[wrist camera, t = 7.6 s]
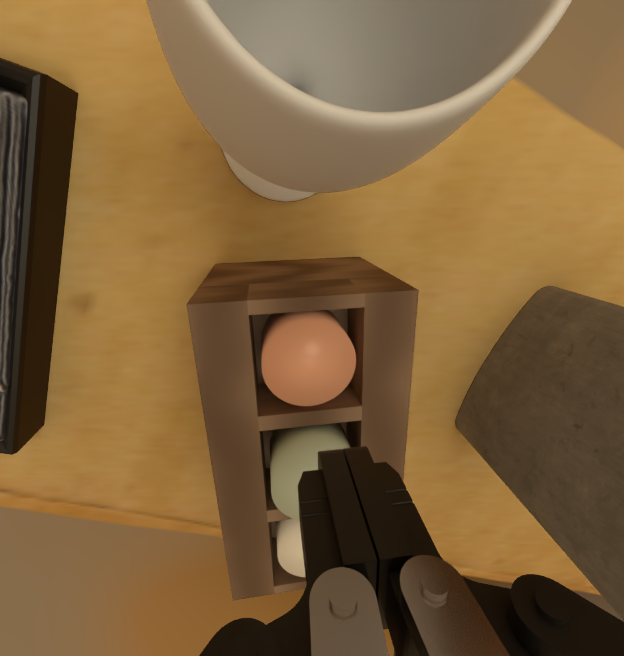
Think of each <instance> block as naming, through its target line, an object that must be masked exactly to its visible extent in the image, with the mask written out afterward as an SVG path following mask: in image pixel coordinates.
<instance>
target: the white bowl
mask: <svg viewBox="0 0 624 656" xmlns="http://www.w3.org/2000/svg"><path fill="white" fill-rule="evenodd" d="M571 1H572V0H147V4H148V7H149V11H150V14H151V17H152V20H153V23H154V27H155V30H156V33H157V36H158V39H159V42H160V44H161V47H162V50H163V52H164V55H165V57H166V60H167V62H168V64H169V67H170V69H171V72H172V74H173V76H174V78H175V80H176V82H177V84H178V86H179V88H180V90H181V92H182V94H183V95H184V97H185V99H186V101H187V102H188V104H189V106H190V108H191V109H192V111H193V112H194V114H195V115H196V117H197V118H198V120H199V121H200V123H201V124H202V125H203V127H204V128H205V129H206V131H207V132H208V133H209V134H210V136H211V137H212V138H213V139H214V140H215V141H216V143H217V144H218V145H219V146H220V147H221V148H222V150H223V153H224V156H225V158H226V161H227V163H228V165H229V166H230V168H231V170H232V171H233V173H234V174H235V175H236V176H237V178H238V179H239V180H240V181H241V182H242V183H243V184H244V185H245V186H246V187H247V188H249V189H250V190H252V191H253V192H255V193H256V194H258V195H260V196H262V197H265V198H267V199H271V200H275V201H282V202H291V201H298V200H302V199H305V198H308V197H310V196H312V195H314V194H316V193H329V192H338V191H345V190H350V189H354V188H358V187H362V186H365V185H368V184H371V183H374V182H376V181H379V180H381V179H383V178H386V177H388V176H390V175H392V174H394V173H396V172H398V171H400V170H401V169H403V168H405V167H406V166H408V165H410V164H411V163H413V162H414V161H416V160H418V159H419V158H421V157H422V156H424V155H425V154H426V153H428V152H429V151H431V150H432V149H433V148H435V147H436V146H437V145H439V144H440V143H441V142H442V141H444V140H445V139H446V138H447V137H449V136H450V135H451V134H452V133H454V132H455V131H456V130H457V129H458V128H459V127H461V126H462V125H463V124H464V123H465V122H467V121H468V120H469V119H470V118H471V117H472V116H473V115H474V114H475V113H477V112H478V111H479V110H480V109H481V108H482V107H483V106H484V105H485V104H486V103H487V102H488V101H489V100H490V99H492V98H493V97H494V96H495V95H496V94H497V93H498V92H499V91H500V90H501V89H502V88H503V87H504V86H505V85H506V84H507V83H508V82H509V81H510V80H511V79H512V78H513V77H514V76H515V75H516V74H517V73H518V72H519V71H520V70H521V69H522V68H523V67H524V65H525V64H526V63H527V62H528V61H529V60H530V59H531V57H532V56H533V55H534V54H535V52H536V51H537V50H538V49H539V48H540V46H541V45H542V44H543V43H544V41H545V40H546V39H547V37H548V36H549V35H550V33H551V32H552V31H553V29H554V28H555V26H556V25H557V24H558V22H559V20H560V19H561V18H562V16H563V14H564V13H565V11H566V9H567V8H568V6H569V4H570V3H571Z"/></svg>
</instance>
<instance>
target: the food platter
mask: <svg viewBox="0 0 624 656" xmlns="http://www.w3.org/2000/svg"><path fill="white" fill-rule="evenodd" d="M77 100H78V93H77V92H75V91H73V90H72V89H70V88H68V87H67V86H65V85H63V84H62V83H60V82H58V81H56V80H55V79H53V78H51V77H50V76H48V75H46V74H43V73H40V72H38V71H35V70H32V69H29V68H27V67H24V66H21V65H19V64H16V63H13V62H10V61H8V60H5V59H2V58H0V453H4V454H11V455H12V454H15V453H17V452H18V451H19V450H20V449H21V448H22V447H23V446H24V445H25V444H26V443H27V442H28V441H29V440H30V439H31V438H32V437H33V436H34V434H35V433H36V432H37V431H38V430H39V429H40V428H41V427H42V426H43V425H44V420H45V411H46V401H47V391H48V382H49V372H50V362H51V352H52V343H53V333H54V323H55V314H56V304H57V294H58V285H59V275H60V265H61V255H62V246H63V236H64V226H65V217H66V207H67V197H68V188H69V178H70V168H71V158H72V149H73V139H74V129H75V120H76V110H77Z"/></svg>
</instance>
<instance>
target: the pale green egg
mask: <svg viewBox="0 0 624 656" xmlns="http://www.w3.org/2000/svg"><path fill="white" fill-rule="evenodd" d="M344 448H350V445H349V442H348V440H347V437H346V434H345V431H344V429H343V427H342V425H341V424H340V423H331V424H322V425H313V426H303V427H294V428H284V429H275V430H274V432H273V434H272V436H271V439H270V474H271V495H272V499H273V502H274V504H275V505H276V507H277V508H278V509H279V510H280V511H281V512H282V513H283V514H285V515H286V516H288V517H290V518H293V519H296V520H300V519H299V501H298V484H299V481H300V478H301V476H302V473H303V471H311V470H318V451H327V450H336V449H344Z"/></svg>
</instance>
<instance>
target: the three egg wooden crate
mask: <svg viewBox="0 0 624 656" xmlns="http://www.w3.org/2000/svg"><path fill="white" fill-rule="evenodd" d="M417 302H418V289H416V288H414V287H412V286H410V285H409V284H407V283H405V282H403V281H401V280H400V279H398V278H396V277H394V276H393V275H391V274H389V273H387V272H385V271H384V270H382V269H380V268H378V267H377V266H375V265H373V264H371V263H369V262H368V261H366V260H364V259H362V258H361V257H345V258H325V259H304V260H284V261H264V262H243V263H223V264H215V265H214V267H213V268H212V270H211V271H210V272H209V274H208V275H207V277H206V278H205V279H204V281H203V282H202V284H201V285H200V286H199V288H198V289H197V291H196V292H195V293H194V295H193V296H192V298H191V299H190V300H189V302H188V303H187V310H188V317H189V323H190V329H191V336H192V342H193V349H194V355H195V361H196V368H197V374H198V381H199V387H200V393H201V400H202V406H203V412H204V419H205V425H206V432H207V438H208V444H209V451H210V457H211V464H212V470H213V476H214V483H215V489H216V495H217V502H218V508H219V515H220V521H221V527H222V534H223V540H224V546H225V553H226V559H227V566H228V572H229V578H230V584H231V591H232V598H233V600H239V599H245V598H250V597H257V596H263V595H269V594H275V593H282V592H287V591H294V590H300V589H306V577H299V576H295V575H293V574H290V573H289V572H287V571H286V570H284V569H283V567H282V566H281V565H280V563H279V561H278V555H277V535H276V521H281V520H288V519H293V518H290V517H288V516H286V515H285V514H283V513H282V512H281V511H280V510H279V509H278V508H277V507H276V505H275V504H274V502H273V499H272V495H271V474H270V439H271V436H272V434H273V432H274V430H275V429H284V428H294V427H303V426H313V425H322V424H331V423H340V424H341V425H342V427H343V429H344V431H345V434H346V437H347V440H348V442H349V445H350V448H353V447H362V446H367V448H368V450H369V452H370V454H371V457H372V459H373V461H374V463H379V462H387V463H388V464H389V465H390V466H391V467H392V468H394V469H395V470H396V471H397V472H398V473H399V475H400V477H401V479H402V481H403V477H404V464H405V452H406V439H407V427H408V414H409V402H410V389H411V377H412V365H413V352H414V340H415V327H416V315H417ZM317 310H330V311H331V312H332V313H333V314H334V316H335V317H336V318H337V320H338V322H339V323H340V325H341V326H342V328H343V329H344V331H345V332H346V334H347V335H348V337H349V338H350V340H351V342H352V344H353V346H354V349H355V354H356V367H355V371H354V374H353V377H352V379H351V381H350V383H349V384H348V385H347V387H346V388H345V389H344V390H343V391H342V392H341V393H340V394H339V395H338V396H336V397H335V398H333V399H331V400H329V401H327V402H325V403H322V404H319V405H314V406H298V405H293V404H290V403H287V402H285V401H283V400H281V399H280V398H278V397H277V396H276V395H274V394H273V393H272V392H271V390H270V389H269V388H268V386H267V385H266V383H265V381H264V378H263V375H262V363H261V336H262V331H263V327H264V325H265V323H266V321H267V319H268V318H269V317H270V315H271V314H273V313H288V312H303V311H317Z"/></svg>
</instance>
